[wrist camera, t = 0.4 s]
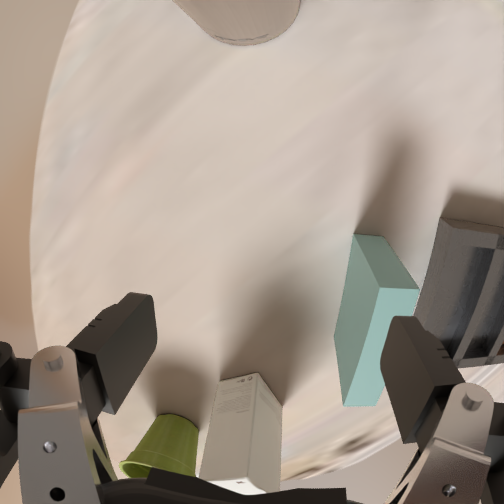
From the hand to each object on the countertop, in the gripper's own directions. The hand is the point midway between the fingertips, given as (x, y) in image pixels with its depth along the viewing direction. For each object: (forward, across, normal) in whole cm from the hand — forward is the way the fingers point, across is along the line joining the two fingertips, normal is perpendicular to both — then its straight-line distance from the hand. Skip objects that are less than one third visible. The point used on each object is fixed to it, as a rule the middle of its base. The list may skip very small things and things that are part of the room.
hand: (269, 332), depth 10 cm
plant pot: (+22, +14, +35) cm, 44 cm away
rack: (+20, -25, +7) cm, 33 cm away
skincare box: (+22, +2, +24) cm, 33 cm away
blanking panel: (+20, -8, +7) cm, 23 cm away
